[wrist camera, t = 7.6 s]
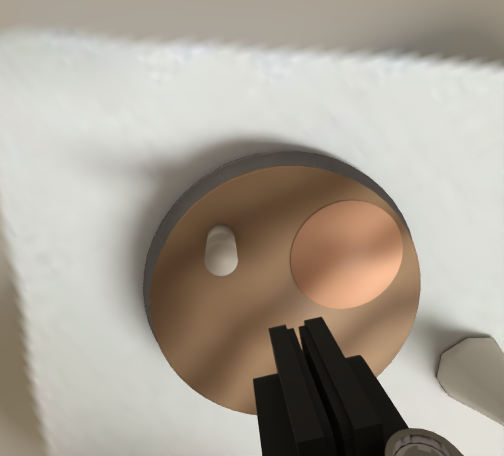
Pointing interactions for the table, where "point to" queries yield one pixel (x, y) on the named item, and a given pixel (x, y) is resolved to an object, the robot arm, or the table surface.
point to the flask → (475, 376)
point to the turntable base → (234, 170)
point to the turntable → (280, 277)
